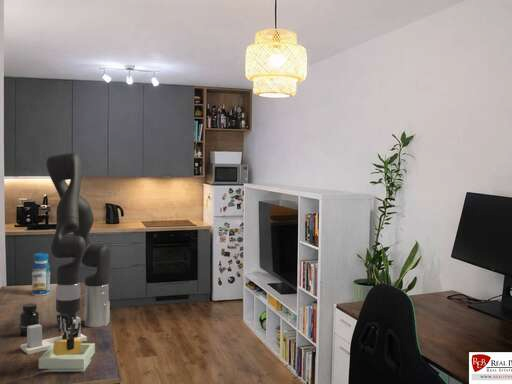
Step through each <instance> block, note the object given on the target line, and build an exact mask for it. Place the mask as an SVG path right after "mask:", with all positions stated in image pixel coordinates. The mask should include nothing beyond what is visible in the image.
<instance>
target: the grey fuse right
mask: <svg viewBox="0 0 512 384" xmlns="http://www.w3.org/2000/svg"><path fill="white" fill-rule="evenodd" d="M76 320H77V322H80V329H79V333H78V337H81V334H82V332H81V331H82V326H81V324H82V322H81V321H82V318H81V317H79V316H76ZM70 329H71V328H70ZM76 338H77V337H76Z"/></svg>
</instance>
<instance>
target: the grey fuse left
mask: <svg viewBox="0 0 512 384" xmlns="http://www.w3.org/2000/svg"><path fill="white" fill-rule="evenodd" d="M26 340H27V341H26V344H27V347H29V348H34V347H38V346H42V340H43V326H42V325H41V324H40V323H39V324H36V325H31V326H27V337H26Z"/></svg>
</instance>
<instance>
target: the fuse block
mask: <svg viewBox="0 0 512 384" xmlns="http://www.w3.org/2000/svg"><path fill="white" fill-rule="evenodd" d="M77 338H78V339H80V340H82V341H81V343H83V342H85V341H88V336H86V335H84V334H82V333H81V337H77ZM57 340H62V335H60V336H55V337H50V338H45V339H42V346H38V347H34V348H29V347H27V343H23V344H20V349H21V350H22V351H23V352H25V353H26V354H27V355H30V354H35V353H39V352H44V351H47V350H48V349H49V348H50V347H51V345H52V344H53V343H54V341H57Z"/></svg>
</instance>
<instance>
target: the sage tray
mask: <svg viewBox="0 0 512 384" xmlns="http://www.w3.org/2000/svg"><path fill="white" fill-rule="evenodd" d="M53 347H54V343H53V344H52V345H51V347H50V348H49V349H48V350H45V352H44V353H43V354H42V355H40V357H39V358H38V369H40V371H38V372H40V373H41V372H45V373H46V372H47V373H49V372H62V373H63V372H85V371H86V369H87V367H88V366H89V365H90V363H91V361H93V358H94V357H93V356H94V354H95V353H96V343H94V342H93V343H91V342H90V343H89V342H88V343H84V342H81V350H80V353H72V354H65V355H58V356H56V355H55V354H53ZM41 369H43V370H41Z"/></svg>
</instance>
